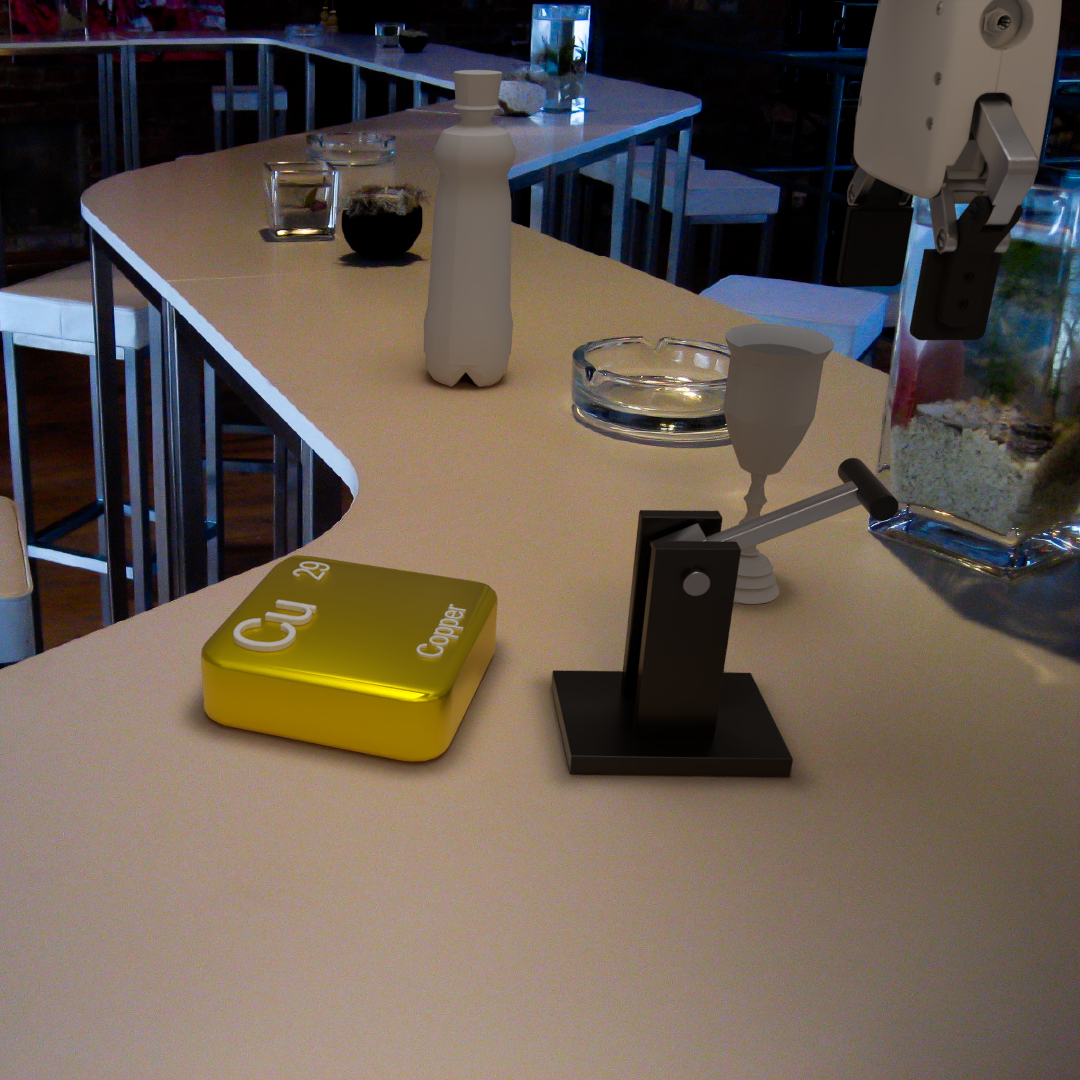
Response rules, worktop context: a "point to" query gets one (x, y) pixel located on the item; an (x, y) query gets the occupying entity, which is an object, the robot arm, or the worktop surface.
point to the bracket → (672, 671)
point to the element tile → (352, 657)
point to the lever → (806, 510)
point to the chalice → (769, 421)
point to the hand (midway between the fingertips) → (903, 309)
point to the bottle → (471, 241)
